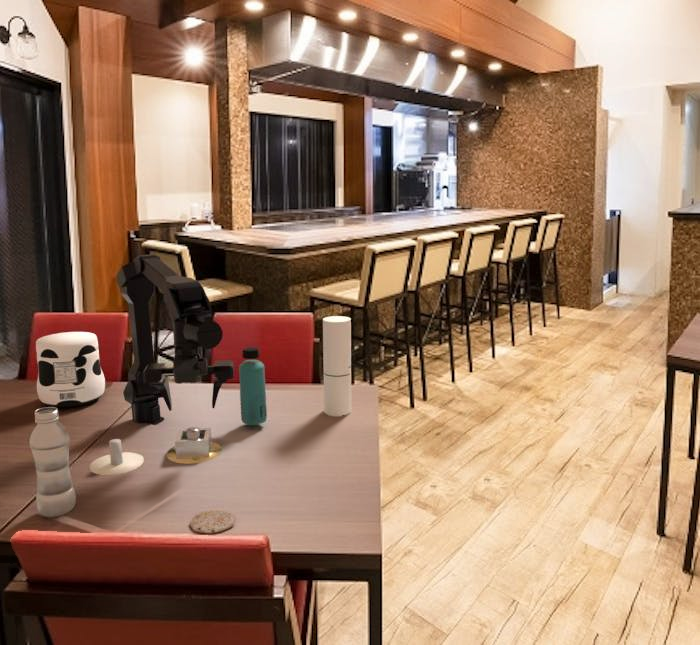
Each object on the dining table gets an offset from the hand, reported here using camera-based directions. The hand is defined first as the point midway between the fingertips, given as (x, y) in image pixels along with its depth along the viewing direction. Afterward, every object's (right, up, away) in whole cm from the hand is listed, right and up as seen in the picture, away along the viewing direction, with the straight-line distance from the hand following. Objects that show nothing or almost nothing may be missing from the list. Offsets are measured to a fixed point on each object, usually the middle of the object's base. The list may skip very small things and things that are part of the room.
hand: (192, 408), depth 139 cm
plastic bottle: (-19, -16, -22) cm, 33 cm away
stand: (-15, -12, -3) cm, 20 cm away
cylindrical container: (+31, -5, +29) cm, 43 cm away
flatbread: (+10, -17, -25) cm, 32 cm away
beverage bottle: (+11, -7, +19) cm, 23 cm away
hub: (0, -11, +3) cm, 11 cm away
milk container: (-42, -3, +38) cm, 57 cm away
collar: (0, -10, +2) cm, 10 cm away
